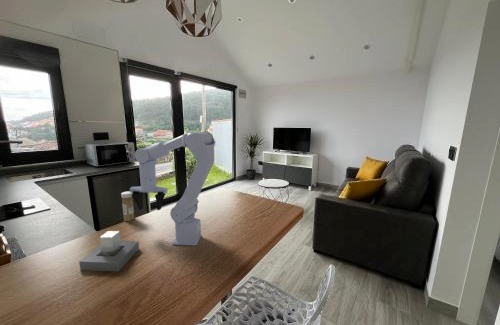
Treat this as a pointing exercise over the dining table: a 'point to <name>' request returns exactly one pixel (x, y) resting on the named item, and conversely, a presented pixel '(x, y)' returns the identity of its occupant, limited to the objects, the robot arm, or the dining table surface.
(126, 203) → the sprinkles bottle
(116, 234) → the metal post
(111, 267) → the frame
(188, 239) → the robot arm
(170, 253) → the dining table surface
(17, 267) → the dining table surface
